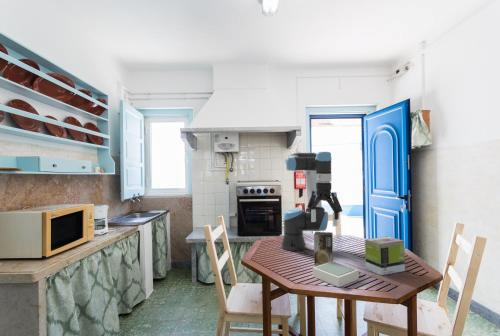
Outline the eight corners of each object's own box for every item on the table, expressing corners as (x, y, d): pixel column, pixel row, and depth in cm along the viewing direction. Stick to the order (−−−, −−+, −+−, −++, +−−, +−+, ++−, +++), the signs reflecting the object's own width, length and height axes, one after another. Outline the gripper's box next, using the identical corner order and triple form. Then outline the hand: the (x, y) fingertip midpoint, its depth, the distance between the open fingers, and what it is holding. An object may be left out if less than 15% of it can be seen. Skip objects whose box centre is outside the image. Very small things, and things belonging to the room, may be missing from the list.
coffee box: (333, 263, 141) (333, 232, 141) (332, 268, 135) (332, 235, 135) (315, 261, 144) (315, 231, 144) (313, 265, 138) (313, 233, 138)
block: (312, 276, 125) (312, 267, 125) (332, 269, 133) (332, 260, 133) (338, 287, 113) (338, 276, 113) (358, 279, 121) (358, 269, 121)
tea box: (388, 264, 139) (388, 235, 139) (405, 271, 130) (405, 240, 130) (364, 268, 134) (364, 238, 134) (381, 276, 125) (380, 243, 125)
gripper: (300, 181, 148) (300, 221, 148) (339, 183, 128) (340, 229, 127) (310, 181, 152) (310, 219, 152) (349, 182, 132) (349, 227, 132)
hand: (323, 223), depth 140 cm, fingers open, 13 cm apart
